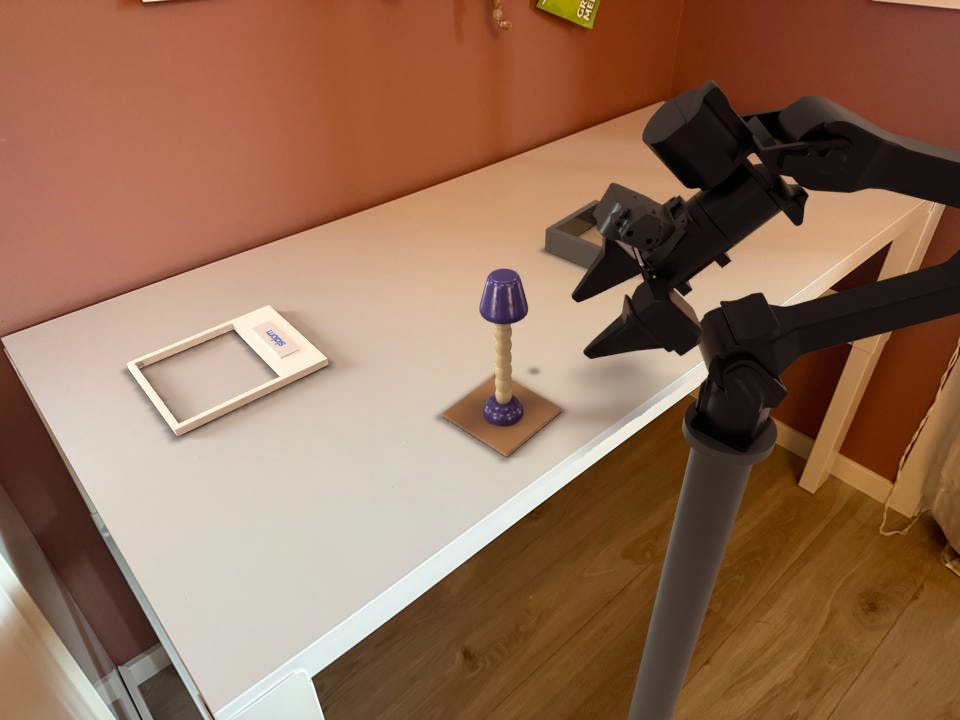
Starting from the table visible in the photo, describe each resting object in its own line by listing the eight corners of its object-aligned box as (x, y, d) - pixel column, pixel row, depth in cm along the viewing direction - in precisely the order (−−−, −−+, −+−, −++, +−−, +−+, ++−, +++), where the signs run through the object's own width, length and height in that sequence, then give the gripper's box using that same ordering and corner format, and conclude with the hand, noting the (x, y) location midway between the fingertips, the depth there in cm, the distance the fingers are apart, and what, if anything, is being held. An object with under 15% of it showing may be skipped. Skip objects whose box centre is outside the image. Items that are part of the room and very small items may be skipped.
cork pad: (561, 411, 76) (561, 407, 76) (506, 457, 71) (506, 454, 71) (498, 375, 81) (498, 372, 81) (442, 416, 76) (442, 413, 76)
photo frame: (327, 357, 82) (174, 428, 74) (328, 364, 83) (177, 436, 74) (268, 303, 91) (125, 361, 82) (270, 310, 92) (129, 369, 83)
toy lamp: (474, 403, 77) (470, 269, 66) (512, 390, 78) (514, 258, 68) (494, 431, 73) (492, 295, 63) (534, 417, 75) (539, 282, 65)
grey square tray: (661, 245, 103) (665, 223, 101) (614, 279, 96) (617, 256, 94) (593, 220, 110) (595, 199, 108) (544, 250, 103) (545, 228, 101)
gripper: (637, 118, 66) (516, 228, 73) (686, 211, 52) (529, 338, 58) (707, 195, 71) (587, 291, 78) (769, 300, 56) (616, 407, 63)
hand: (579, 325), depth 69 cm, fingers open, 9 cm apart
